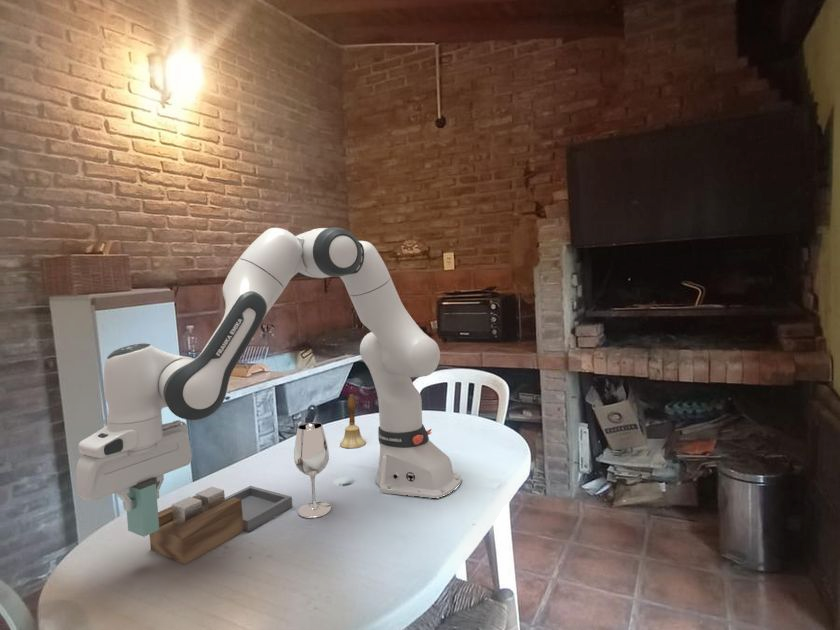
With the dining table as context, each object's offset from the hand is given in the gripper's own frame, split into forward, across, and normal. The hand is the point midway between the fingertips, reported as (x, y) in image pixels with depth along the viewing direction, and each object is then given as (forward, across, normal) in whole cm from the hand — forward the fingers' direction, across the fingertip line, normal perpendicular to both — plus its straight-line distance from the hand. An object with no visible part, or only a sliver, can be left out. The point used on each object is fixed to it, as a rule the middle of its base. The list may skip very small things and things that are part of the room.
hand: (141, 504), depth 96 cm
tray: (+12, -25, 0) cm, 28 cm away
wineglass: (+12, -32, +13) cm, 37 cm away
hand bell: (+12, -72, -7) cm, 74 cm away
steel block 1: (+8, -9, 0) cm, 12 cm away
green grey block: (+5, 0, 0) cm, 5 cm away
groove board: (+12, -11, 0) cm, 17 cm away
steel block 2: (+8, -15, 0) cm, 16 cm away
